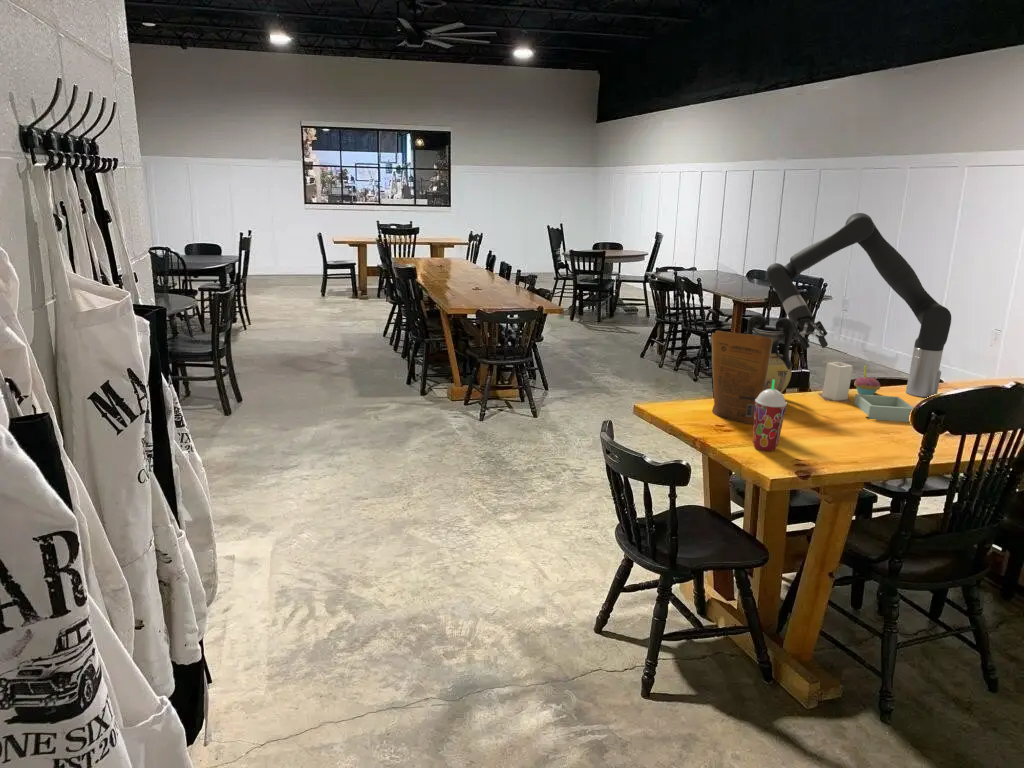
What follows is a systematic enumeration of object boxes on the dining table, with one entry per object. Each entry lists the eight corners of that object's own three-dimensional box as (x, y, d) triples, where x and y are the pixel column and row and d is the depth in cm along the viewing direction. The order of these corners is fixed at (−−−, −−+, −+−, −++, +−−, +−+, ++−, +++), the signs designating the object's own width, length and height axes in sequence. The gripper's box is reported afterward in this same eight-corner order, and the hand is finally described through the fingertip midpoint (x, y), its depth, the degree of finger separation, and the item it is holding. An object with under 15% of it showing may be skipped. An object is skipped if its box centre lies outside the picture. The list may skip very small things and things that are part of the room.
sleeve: (834, 394, 258) (839, 361, 255) (847, 399, 253) (852, 365, 250) (822, 396, 256) (827, 363, 253) (835, 400, 251) (840, 366, 248)
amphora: (729, 403, 248) (740, 316, 240) (739, 392, 262) (749, 309, 254) (784, 412, 240) (796, 322, 232) (791, 400, 254) (803, 315, 246)
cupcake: (858, 399, 258) (863, 366, 255) (848, 392, 266) (853, 360, 263) (882, 400, 258) (888, 367, 255) (872, 393, 266) (877, 361, 263)
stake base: (843, 398, 259) (847, 373, 256) (851, 405, 250) (856, 379, 248) (817, 396, 260) (820, 371, 257) (824, 403, 251) (828, 378, 249)
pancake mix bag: (757, 428, 222) (768, 338, 215) (701, 413, 235) (710, 328, 228) (767, 423, 227) (778, 336, 220) (712, 409, 240) (721, 326, 232)
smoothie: (785, 448, 206) (795, 380, 200) (771, 455, 200) (781, 385, 195) (758, 440, 211) (766, 374, 206) (743, 447, 206) (752, 378, 200)
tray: (896, 409, 247) (898, 396, 246) (913, 422, 234) (915, 408, 233) (853, 406, 249) (855, 394, 247) (867, 419, 235) (870, 406, 234)
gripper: (788, 305, 262) (808, 342, 255) (818, 303, 267) (838, 340, 260) (776, 317, 268) (794, 354, 261) (805, 315, 273) (824, 351, 266)
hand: (816, 347), depth 260 cm, fingers open, 8 cm apart
